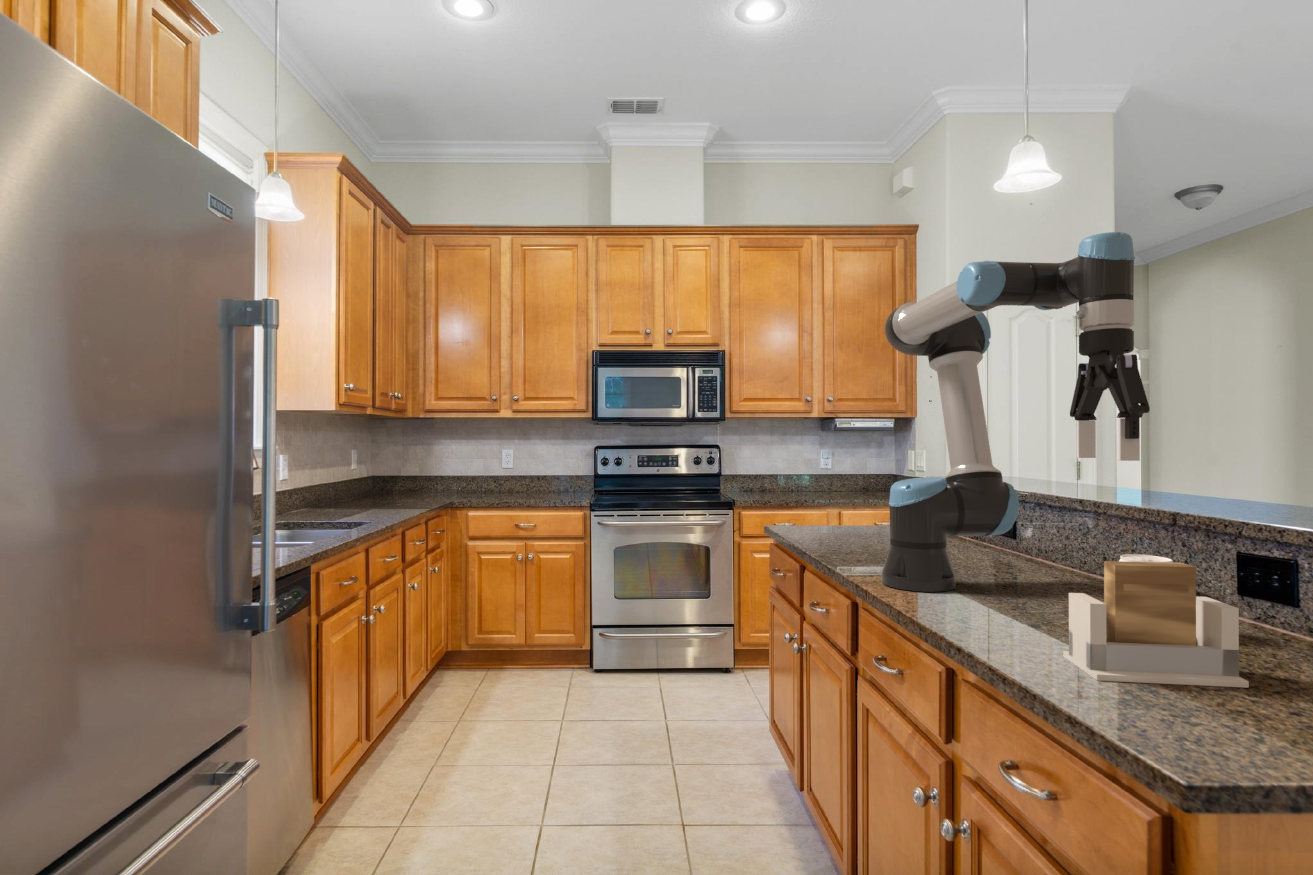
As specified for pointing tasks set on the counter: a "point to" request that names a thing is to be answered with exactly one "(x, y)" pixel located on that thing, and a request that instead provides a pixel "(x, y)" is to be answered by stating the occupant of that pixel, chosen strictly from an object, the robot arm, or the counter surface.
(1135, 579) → the door panel
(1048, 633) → the counter surface
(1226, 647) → the door track
